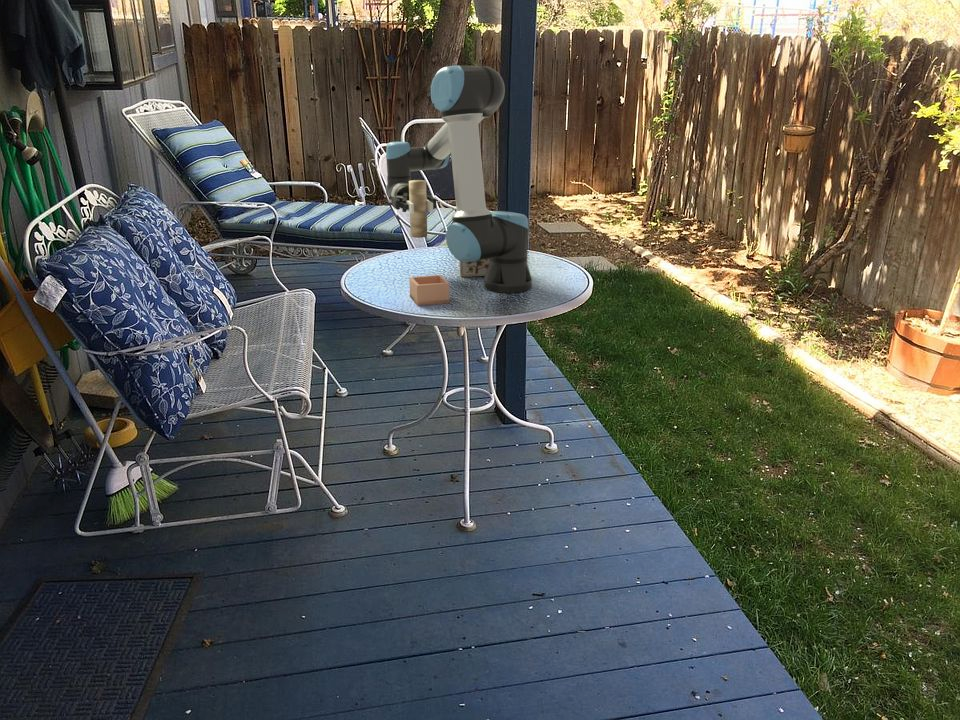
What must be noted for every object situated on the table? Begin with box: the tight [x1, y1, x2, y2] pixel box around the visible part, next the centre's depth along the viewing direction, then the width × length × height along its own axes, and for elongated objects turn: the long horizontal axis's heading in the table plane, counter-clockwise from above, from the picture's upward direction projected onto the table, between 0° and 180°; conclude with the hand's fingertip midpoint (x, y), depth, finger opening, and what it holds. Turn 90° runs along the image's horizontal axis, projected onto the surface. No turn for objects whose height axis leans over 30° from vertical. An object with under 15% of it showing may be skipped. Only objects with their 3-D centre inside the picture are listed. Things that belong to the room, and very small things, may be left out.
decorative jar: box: [459, 258, 490, 278], centre depth 246 cm, size 12×12×18 cm
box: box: [408, 274, 451, 307], centre depth 219 cm, size 10×10×6 cm
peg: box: [409, 179, 428, 239], centre depth 219 cm, size 5×5×16 cm
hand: (422, 208), depth 214 cm, fingers closed on peg, 5 cm apart
